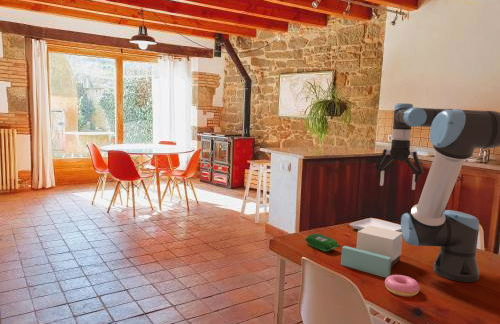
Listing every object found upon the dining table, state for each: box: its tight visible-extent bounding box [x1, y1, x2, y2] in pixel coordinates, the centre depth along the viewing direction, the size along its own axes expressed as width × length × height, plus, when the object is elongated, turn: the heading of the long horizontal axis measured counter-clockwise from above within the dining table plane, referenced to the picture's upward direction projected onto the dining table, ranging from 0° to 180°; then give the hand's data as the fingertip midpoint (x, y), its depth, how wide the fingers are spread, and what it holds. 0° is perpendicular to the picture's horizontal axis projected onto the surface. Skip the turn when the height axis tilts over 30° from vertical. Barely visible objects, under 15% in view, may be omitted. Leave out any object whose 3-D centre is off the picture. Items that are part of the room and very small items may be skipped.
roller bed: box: [390, 255, 401, 269], centre depth 154 cm, size 14×17×2 cm
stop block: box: [340, 245, 392, 279], centre depth 145 cm, size 18×2×7 cm, turn 52°
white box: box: [355, 226, 403, 262], centre depth 156 cm, size 14×12×9 cm
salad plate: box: [349, 217, 402, 232], centre depth 197 cm, size 21×21×3 cm
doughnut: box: [384, 274, 421, 297], centre depth 130 cm, size 11×11×4 cm
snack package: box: [304, 232, 341, 253], centre depth 168 cm, size 7×16×5 cm, turn 34°
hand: (397, 187), depth 172 cm, fingers open, 13 cm apart
